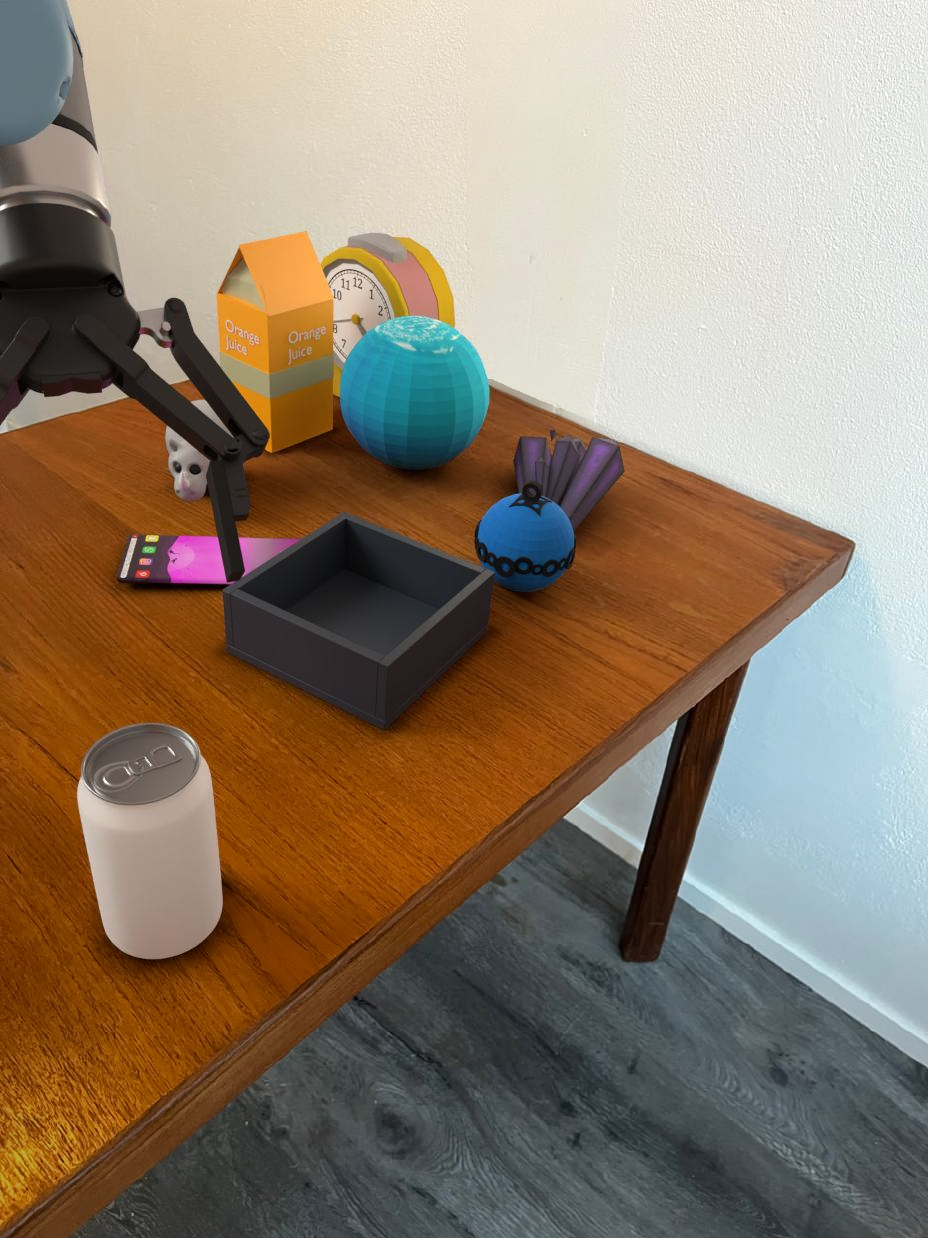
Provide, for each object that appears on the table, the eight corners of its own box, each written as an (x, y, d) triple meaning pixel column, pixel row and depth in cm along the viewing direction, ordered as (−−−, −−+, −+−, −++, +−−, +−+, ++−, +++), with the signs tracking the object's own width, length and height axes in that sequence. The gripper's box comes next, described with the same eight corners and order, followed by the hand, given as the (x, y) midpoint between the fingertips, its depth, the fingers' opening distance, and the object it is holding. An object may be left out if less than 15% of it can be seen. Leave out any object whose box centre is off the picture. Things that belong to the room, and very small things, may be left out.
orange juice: (223, 428, 104) (210, 234, 92) (286, 406, 110) (281, 221, 98) (272, 454, 100) (266, 255, 89) (334, 429, 106) (336, 240, 94)
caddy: (226, 652, 74) (221, 589, 71) (342, 569, 84) (343, 511, 81) (384, 730, 68) (387, 666, 65) (487, 631, 79) (495, 571, 76)
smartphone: (131, 541, 85) (129, 532, 84) (305, 542, 87) (305, 534, 86) (117, 588, 79) (115, 579, 79) (304, 589, 81) (304, 580, 81)
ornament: (581, 575, 87) (599, 475, 81) (547, 624, 80) (564, 519, 75) (493, 547, 89) (505, 448, 84) (453, 592, 83) (463, 489, 77)
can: (84, 903, 55) (49, 749, 48) (190, 851, 58) (172, 700, 51) (135, 986, 51) (105, 831, 44) (245, 924, 55) (233, 772, 48)
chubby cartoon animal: (143, 525, 87) (133, 438, 82) (183, 464, 97) (175, 383, 92) (223, 533, 87) (217, 447, 82) (255, 471, 97) (251, 391, 92)
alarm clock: (307, 386, 115) (306, 223, 104) (357, 369, 120) (360, 213, 110) (399, 428, 108) (408, 259, 97) (448, 408, 113) (461, 246, 102)
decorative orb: (313, 444, 103) (312, 303, 94) (433, 421, 110) (443, 287, 101) (383, 509, 93) (389, 358, 84) (510, 478, 101) (528, 337, 92)
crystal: (607, 502, 85) (638, 399, 100) (479, 487, 88) (528, 389, 103) (602, 568, 90) (633, 460, 104) (482, 552, 92) (528, 449, 107)
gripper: (254, 258, 63) (319, 575, 61) (-192, 274, 54) (-133, 645, 52) (271, 192, 56) (345, 547, 54) (-237, 198, 47) (-171, 623, 45)
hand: (111, 596), depth 53 cm, fingers open, 13 cm apart
